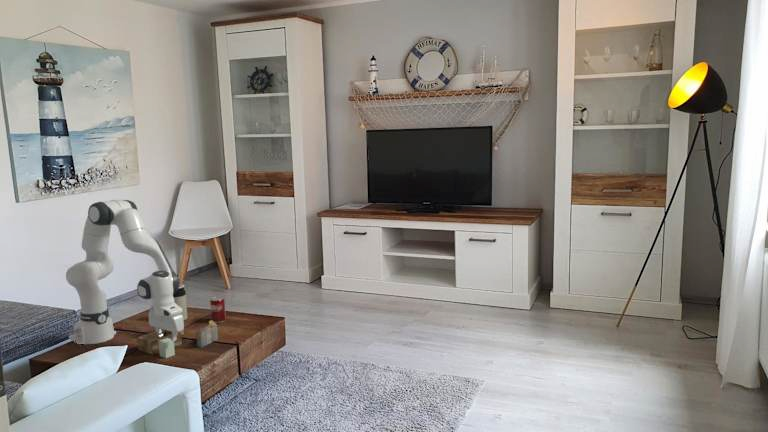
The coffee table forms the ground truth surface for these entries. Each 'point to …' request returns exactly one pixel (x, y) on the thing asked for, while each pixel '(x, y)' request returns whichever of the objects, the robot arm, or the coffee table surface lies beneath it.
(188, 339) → the coffee table surface
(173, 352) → the sage block
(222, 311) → the soda can
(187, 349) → the coffee table surface
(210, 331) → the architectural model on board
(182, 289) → the travel mug
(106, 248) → the robot arm
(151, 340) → the crate
